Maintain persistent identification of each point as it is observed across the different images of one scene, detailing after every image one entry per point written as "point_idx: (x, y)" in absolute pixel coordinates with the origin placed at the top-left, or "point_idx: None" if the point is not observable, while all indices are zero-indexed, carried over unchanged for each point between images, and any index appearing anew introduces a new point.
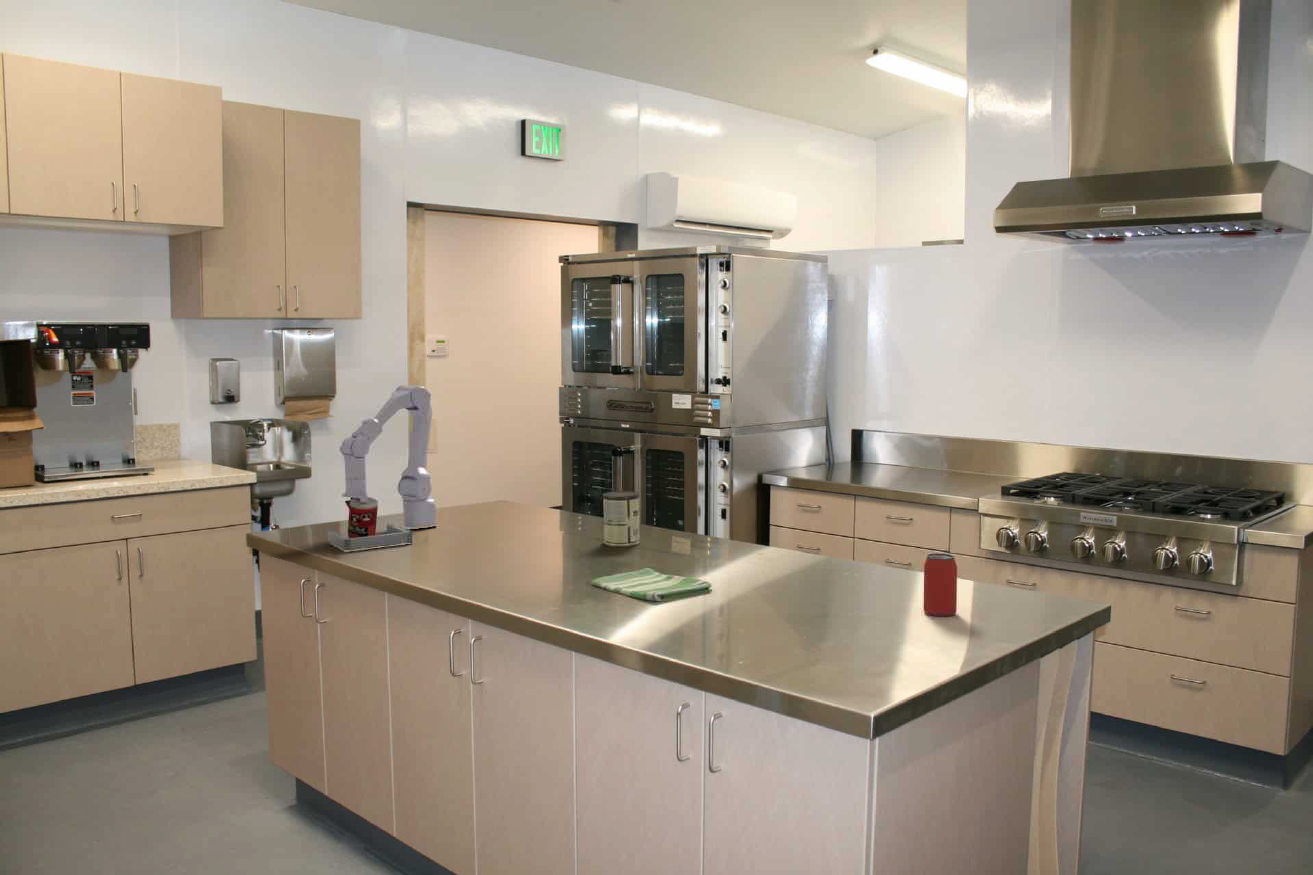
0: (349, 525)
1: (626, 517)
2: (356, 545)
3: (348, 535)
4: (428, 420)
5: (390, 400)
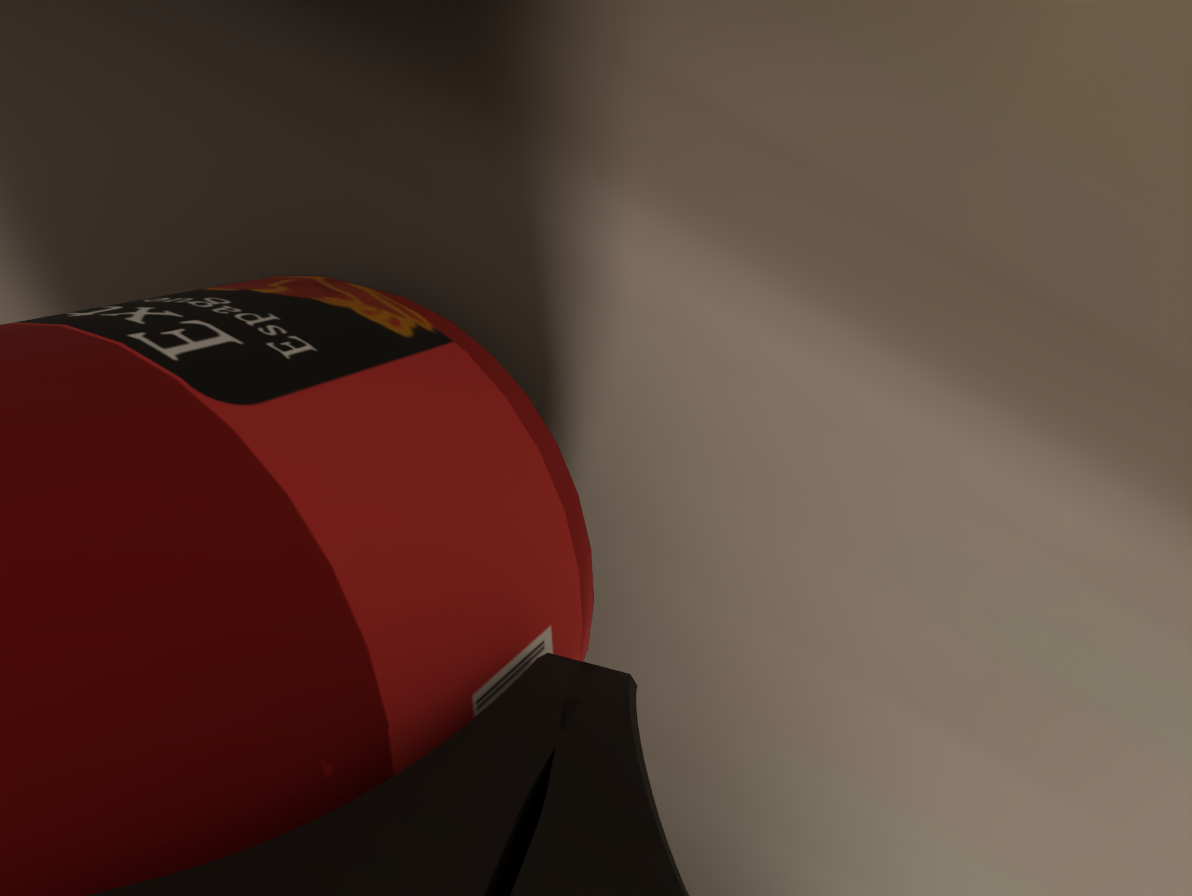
0: (118, 317)
1: None
2: None
3: (336, 279)
4: None
5: None
